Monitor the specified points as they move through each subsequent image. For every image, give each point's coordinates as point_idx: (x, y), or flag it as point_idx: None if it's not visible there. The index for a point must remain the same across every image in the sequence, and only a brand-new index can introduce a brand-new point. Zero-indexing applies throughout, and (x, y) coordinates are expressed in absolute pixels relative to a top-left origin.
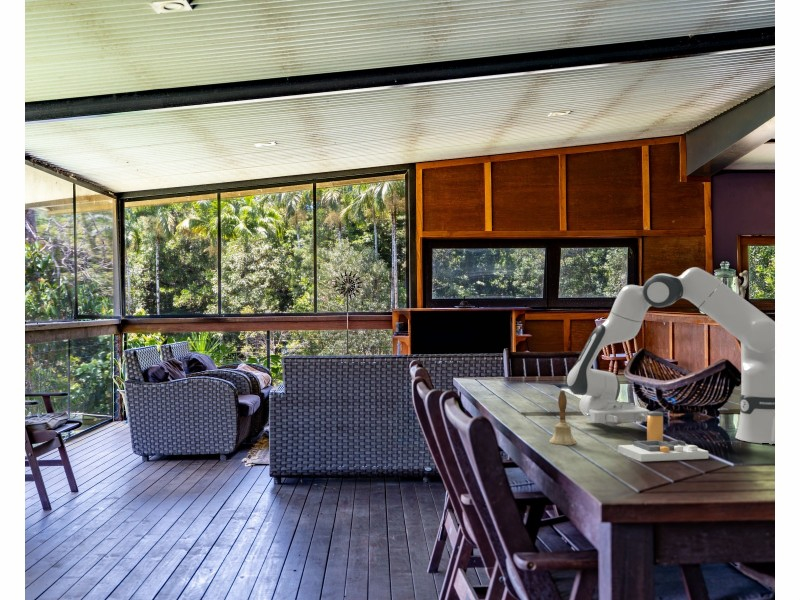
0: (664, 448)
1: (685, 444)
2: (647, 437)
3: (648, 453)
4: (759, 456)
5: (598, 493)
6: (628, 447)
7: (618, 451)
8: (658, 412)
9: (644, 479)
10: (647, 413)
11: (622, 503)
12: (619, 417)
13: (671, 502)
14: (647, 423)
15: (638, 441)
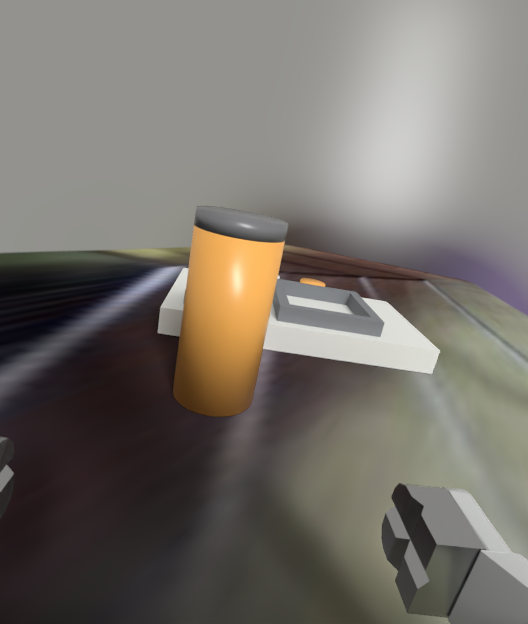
0: (318, 281)
1: (175, 297)
2: (258, 367)
3: (363, 299)
4: (10, 259)
5: (478, 290)
6: (405, 331)
7: (430, 368)
8: (222, 211)
9: (404, 288)
10: (284, 233)
11: (449, 277)
12: (411, 485)
13: (393, 266)
14: (273, 293)
15: (366, 317)
